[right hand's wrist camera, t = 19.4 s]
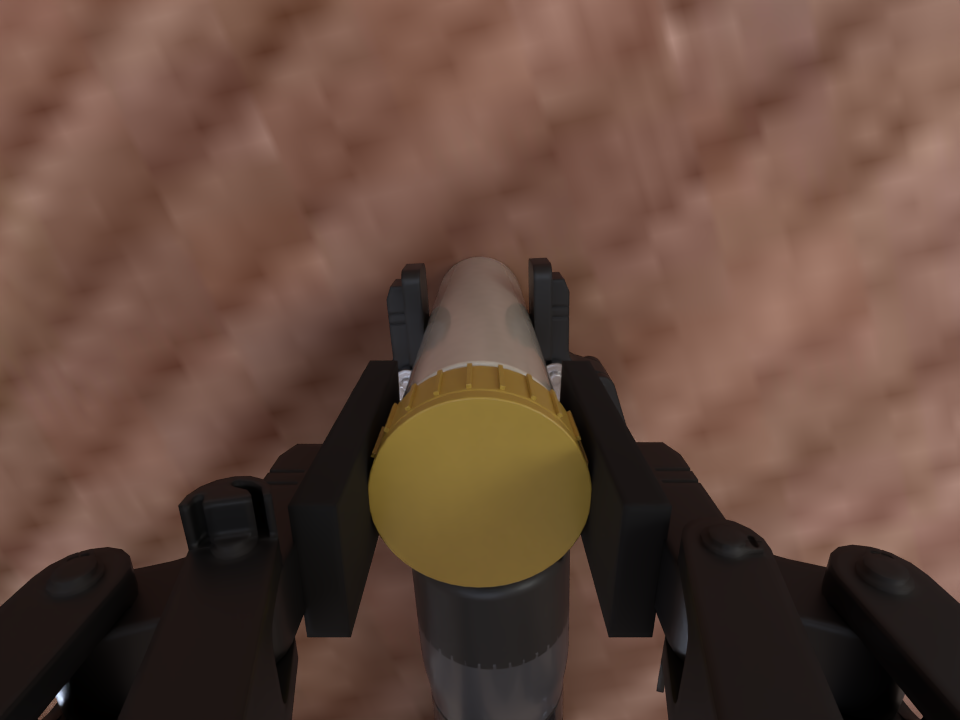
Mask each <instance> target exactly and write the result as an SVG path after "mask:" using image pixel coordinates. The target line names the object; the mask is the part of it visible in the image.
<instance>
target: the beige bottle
mask: <svg viewBox="0 0 960 720" xmlns="http://www.w3.org/2000/svg"><path fill="white" fill-rule="evenodd" d="M467 363H472V366H490V367H498V364H499V365H503V369H508V370H511V371H514V372H517V373H520V374H523V375H525V376H526V374H527V373H528V374H530V375H532V379H533V380H534V381H536V382H538V383H539V384H541V385H542V386H544V387H545V388H546V389H547V390H548V391H550V390H551V389H553V390H554V387H553V384H552V381H551V378H550V375H549V372H548V369H547V366H546V363H545V360H544V357H543V354H542V351H541V348H540V345H539V342H538V339H537V336H536V333H535V330H534V327H533V324H532V321H531V318H530V316H529V313H528V310H527V307H526V304H525V301H524V298H523V295H522V292H521V289H520V286H519V283H518V281H517V279H516V277H515V275H514V274H513V273H512V271H511V270H510V269H509V268H508V267H507V266H505V265H504V264H503V263H501V262H499V261H497V260H495V259H492V258H488V257H472V258H468V259H465V260H463V261H460V262H459V263H457V264H456V265H454V266H453V267H452V268H451V269H450V270H449V271H448V272H447V273H446V275H445V276H444V278H443V280H442V282H441V285H440V288H439V291H438V294H437V297H436V300H435V303H434V306H433V309H432V312H431V315H430V318H429V321H428V324H427V327H426V330H425V333H424V336H423V338H422V341H421V344H420V347H419V350H418V353H417V356H416V359H415V362H414V365H413V368H412V371H411V374H410V377H409V380H408V383H407V386H406V389H405V392H404V395H403V398H404V397H405V396H406V395H407V394H408V393H409V392H410V390H411V386H412V385H413V384H414V383H416V384H417V385H419V384H420V383H422V382H424V381H425V380H427V379H428V378H431V377H433V376H435V375H437V371H438V370H441V369H442V371H443V372H445V371H449V370H452V369H456V368H462V367H467ZM554 391H555V390H554ZM403 398H402V399H403Z"/></svg>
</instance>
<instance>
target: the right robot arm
mask: <svg viewBox="0 0 960 720" xmlns="http://www.w3.org/2000/svg"><path fill="white" fill-rule="evenodd" d="M399 402H400V393H399V375H398V361H370V362H369V363H368V365H367V367H366V369H365V371H364V372H363V374H362V376H361V378H360V379H359V381H358V383H357V385H356V386H355V388H354V390H353V392H352V393H351V395H350V397H349V399H348V400H347V402H346V404H345V406H344V407H343V409H342V411H341V413H340V415H339V416H338V418H337V420H336V422H335V423H334V425H333V427H332V429H331V430H330V432H329V434H328V436H327V437H326V439H325V441H324V443H323V444H297V445H295V446H294V447H292V448H291V449H289V450H288V451H286V452H285V453H283V454H282V455H280V456H279V458H278V459H277V461H276V462H275V463H274V465H273V466H272V468H271V469H270V473H268V474H267V475H266V476H265V478H264V479H260V478H256V477H252V476H234V477H229V478H225V479H220V480H216V481H213V482H211V483H208V484H206V485H203V486H201V487H199V488H198V489H196V490H195V491H193V492H192V493H190V494H189V495H187V496H186V497H185V498H184V500H183V501H182V502H181V503H180V504H179V505H178V507H179V511H180V515H181V519H182V524H183V528H184V532H185V536H186V540H187V544H188V549H189V551H188V554H187V556H186V557H185V558H182V559H178V560H175V561H171V562H166V563H162V564H157V565H152V566H148V567H143V568H138V569H133V566H132V562H131V559H130V556H129V555H128V554H127V553H126V552H124V551H123V550H122V549H116V548H110V547H105V548H96V549H89V550H85V551H81V552H79V553H75V554H72V555H69V556H67V557H65V558H63V559H61V560H59V561H57V562H55V563H53V564H51V565H49V566H48V567H46V568H45V569H44V570H42V571H41V572H40V573H38V574H37V575H35V576H34V577H33V578H32V579H30V580H29V581H28V582H27V583H26V584H25V585H24V586H23V587H22V588H20V589H19V590H18V591H17V592H16V593H15V594H14V595H13V596H12V597H11V598H9V599H8V600H7V601H6V602H5V603H4V604H3V605H2V606H1V607H0V720H38V717H39V716H40V715H41V714H42V713H43V711H44V710H45V709H46V708H47V706H48V705H49V704H50V703H51V701H52V700H53V699H54V698H55V697H56V699H57V701H58V702H57V704H56V705H55V706H54V707H53V709H52V710H51V711H50V712H49V713H48V714H47V715H46V716H45V717H44V718H43V719H42V720H292V712H293V702H294V693H295V683H296V674H297V665H298V654H297V647H296V641H295V635H296V633H297V630H298V627H299V625H300V622H301V620H302V617H303V615H304V618H305V624H306V631H307V637H351V634H352V631H353V627H354V624H355V620H356V616H357V613H358V609H359V605H360V602H361V598H362V594H363V591H364V587H365V583H366V580H367V576H368V573H369V569H370V565H371V562H372V558H373V554H374V551H375V547H376V543H377V540H378V536H379V533H378V531H377V529H376V527H375V525H374V523H373V520H372V516H371V513H370V506H369V495H368V480H369V474H370V470H371V467H372V464H373V461H374V458H373V457H371V455H372V452H373V449H374V446H375V444H376V441H377V439H378V436H379V433H380V431H381V428H382V426H383V427H385V425H386V422H387V420H388V417H389V414H390V411H391V409H392V406H393V405H394V403H396V404H399ZM560 403H561V404H562V406H563V407H564V409H565V410H566V412H567V411H569V410H570V411H571V413H572V415H573V418H574V421H575V423H576V426H577V429H578V431H579V434H580V437H581V443H582V446H583V449H584V451H585V454H586V457H587V459H588V462H589V463H588V469H589V472H590V476H591V484H592V491H591V503H590V511H589V515H588V518H587V521H586V524H585V526H584V528H583V530H582V532H581V537H582V541H583V544H584V548H585V552H586V555H587V559H588V563H589V566H590V570H591V574H592V577H593V581H594V585H595V588H596V592H597V596H598V599H599V603H600V606H601V610H602V614H603V617H604V621H605V625H606V628H607V632H608V636H609V637H652V635H653V629H654V622H655V616H656V613H657V616H658V618H659V621H660V623H661V626H662V628H663V631H664V633H665V641H664V647H663V653H662V659H661V665H660V671H659V677H658V684H657V691H658V692H664V686H665V692H666V701H667V710H668V720H960V603H958V602H957V601H956V600H955V599H954V598H953V597H952V596H951V595H950V594H948V593H947V592H946V591H945V590H944V589H943V588H942V587H941V586H939V585H938V584H937V583H936V582H935V581H934V580H933V579H932V578H931V577H929V576H928V575H927V574H926V573H924V572H923V571H921V570H920V569H919V568H917V567H916V566H915V565H913V564H912V563H910V562H908V561H906V560H904V559H902V558H900V557H898V556H896V555H894V554H892V553H890V552H887V551H884V550H880V549H877V548H873V547H867V546H859V545H848V546H842V547H838V548H837V549H835V550H834V551H833V552H832V553H831V554H830V557H829V561H828V564H827V567H823V566H818V565H813V564H809V563H804V562H799V561H795V560H790V559H786V558H782V557H779V556H775V555H773V553H772V550H771V549H770V547H769V546H768V544H767V543H766V542H765V540H764V539H763V538H762V537H760V536H759V535H758V534H757V533H755V532H754V531H753V530H751V529H750V528H747V527H745V526H743V525H741V524H739V523H736V522H734V521H730V520H726V519H725V518H724V516H723V515H722V513H721V512H720V511H719V509H718V508H717V506H716V505H715V503H714V502H713V500H712V499H711V498H710V496H709V495H708V493H707V492H706V490H705V489H704V488H703V486H702V485H701V483H698V479H697V478H696V476H695V475H694V473H693V472H692V471H690V468H689V466H688V465H687V463H686V462H685V460H684V459H683V458H682V456H681V455H680V454H679V453H678V452H676V451H675V450H673V449H672V448H670V447H669V446H667V445H666V444H664V443H663V442H635V440H634V438H633V436H632V435H631V433H630V431H629V429H628V427H627V426H626V424H625V422H624V420H623V419H622V417H621V415H620V413H619V412H618V410H617V408H616V406H615V405H614V403H613V401H612V399H611V398H610V396H609V394H608V392H607V390H606V389H605V387H604V385H603V383H602V382H601V380H600V378H599V376H598V375H597V373H596V371H595V369H594V368H593V366H592V364H591V362H590V361H562V370H561V387H560ZM905 694H906V696H907V697H908V698H909V699H910V701H911V702H912V703H913V704H914V705H915V707H916V708H917V709H918V710H919V712H920V713H921V714H922V715H923V718H922V719H919V718H918V717H917V716H916V715H915V714H914V713H913V712H912V711H911V710H910V709H909V707H908V706H907V705H906V704H905V702H904V701H903V698H904V695H905Z"/></svg>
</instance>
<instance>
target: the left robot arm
mask: <svg viewBox="0 0 960 720" xmlns="http://www.w3.org/2000/svg"><path fill="white" fill-rule="evenodd" d="M387 307H388V314H389V324H390V334H391V343H392V351H393V360H392V361H398V375H399V393H400V401H401V400H402V398H403V395H404V392H405V389H406V386H407V383H408V380H409V377H410V374H411V371H412V368H413V365H414V362H415V359H416V356H417V353H418V350H419V347H420V344H421V341H422V338H423V336H424V333H425V330H426V327H427V324H428V321H429V318H430V316H429V304H428V293H427V281H426V270H425V265H424V263H419V264H406V266H405V267H404V268H403V270H402V274H401V279H396V280H395V281H394V283H393V284H392V285H391V287H390V290H389V293H388V297H387ZM529 316H530V318H531V321H532V324H533V327H534V330H535V333H536V336H537V339H538V342H539V345H540V348H541V351H542V354H543V357H544V360H545V363H546V366H547V369H548V372H549V375H550V378H551V381H552V384H553V387H554V390H555V393H556V396H557V399H558V401H559V402H560V387H561V370H562V361H590V362H591V364H592V366H593V368H594V369H595V371H596V373H597V375H598V376H599V378H600V380H601V382H602V383H603V385H604V387H605V389H606V390H607V392H608V394H609V396H610V398H611V399H612V401H613V403H614V405H615V406H616V408H617V410H618V412H619V413H620V415H621V417H622V419H623V420H624V416H623V413H622V409H621V406H620V403H619V399H618V396H617V392H616V389H615V386H614V384H613V382H612V380H611V379H610V377H609V375H608V374H607V372H606V370H605V369H604V367H603V366H602V364H601V363H600V361H599V360H598V359H597V358H595V357H592V356H586V357H582V356H578V355H575V354H573V353H571V352H569V290H568V287H567V285H566V282H565V280H564V278H563V277H562V276H561V274H560V273H559V272H552V267H551V263H550V262H549V260H548V259H547V258H531V259H529ZM364 371H365V370H364ZM361 376H362V375H361ZM353 390H354V389H353ZM352 392H353V391H352ZM624 422H625V420H624ZM625 424H626V423H625ZM412 572H413V581H414V589H415V598H416V607H417V615H418V624H419V633H420V641H421V650H422V656H423V661H424V666H425V669H426V673H427V676H428V679H429V682H430V685H431V691H432V700H433V709H434V717H435V720H563V677H564V672H565V668H566V662H567V656H568V645H569V577H570V549H569V550H568V551H567V552H566V553H565V555H564V556H562V557H561V558H560V559H559V560H558V561H557V562H555V563H554V564H553V565H551V566H550V567H548V568H547V569H545V570H544V571H542V572H540V573H538V574H536V575H534V576H532V577H530V578H527V579H524V580H522V581H519V582H515V583H511V584H507V585H502V586H495V587H479V588H478V587H464V586H458V585H452V584H448V583H445V582H441V581H438V580H435V579H433V578H430V577H428V576H425V575H423V574H422V573H420V572H418V571H416V570H414V569H413V568H412Z"/></svg>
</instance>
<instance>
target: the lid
mask: <svg viewBox="0 0 960 720" xmlns="http://www.w3.org/2000/svg"><path fill="white" fill-rule="evenodd" d="M371 457H373V458H374V461H373V464H372V467H371V470H370V474H369V480H368V495H369V506H370V513H371V516H372V520H373V523H374V525H375V527H376V529H377V531H378V533H379V535H380V536H381V538H382V539H383V541H384V542H385V544H386V545H387V546H388V547H389V548H390V550H391V551H392V552H393V553H394V554H395V555H396V556H397V557H398V558H399V559H401V560H402V561H403V562H404V563H405V564H407V565H408V566H410V567H411V568H413V569H414V570H416V571H418V572H420V573H422V574H423V575H425V576H428V577H430V578H433V579H435V580H438V581H441V582H445V583H448V584H452V585H458V586H464V587H478V588H479V587H495V586H502V585H507V584H511V583H515V582H519V581H522V580H524V579H527V578H530V577H532V576H534V575H536V574H538V573H540V572H542V571H544V570H545V569H547V568H548V567H550V566H551V565H553V564H554V563H555V562H557V561H558V560H559V559H560V558H561V557H562V556H564V555H565V553H566V552H567V551H568V550H569V549H570V548H571V547H572V546H573V544H574V543H575V541H576V540H577V539H578V537H579V536H580V534H581V532H582V530H583V528H584V526H585V524H586V521H587V518H588V515H589V511H590V503H591V491H592V484H591V476H590V472H589V469H588V463H589V462H588V459H587V457H586V454H585V451H584V449H583V446H582V443H581V437H580V434H579V431H578V429H577V426H576V423H575V421H574V418H573V415H572V413H571V411H570V410H569V411H567V412H566V410H565V409H564V407H563V406H562V404H561V403H560V402H559V401H558V399H557V396H556V393H555V391H554V390H553V389H551V390H550V391H548V390H547V389H546V388H545V387H544V386H542V385H541V384H539V383H538V382H536V381H534V380H533V379H532V375H530V374H528V373H527V374H526V376H525V375H523V374H520V373H517V372H514V371H511V370H508V369H503V365H499V364H498V367H490V366H472V363H467V367H462V368H456V369H452V370H449V371H445V372H443V371H442V369H441V370H438V371H437V375H435V376H433V377H431V378H428V379H427V380H425V381H424V382H422V383H420V384H419V385H417V384H416V383H414V384H413V385H412V386H411V390H410V392H409V393H408V394H407V395H406V396H405V397H404V398H403V399H402V400H401V401H400V402H399V404H396V403H394V405H393V406H392V409H391V411H390V414H389V417H388V420H387V422H386V425H385V427H383V426H382V428H381V431H380V433H379V436H378V439H377V441H376V444H375V446H374V449H373V452H372V455H371Z"/></svg>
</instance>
